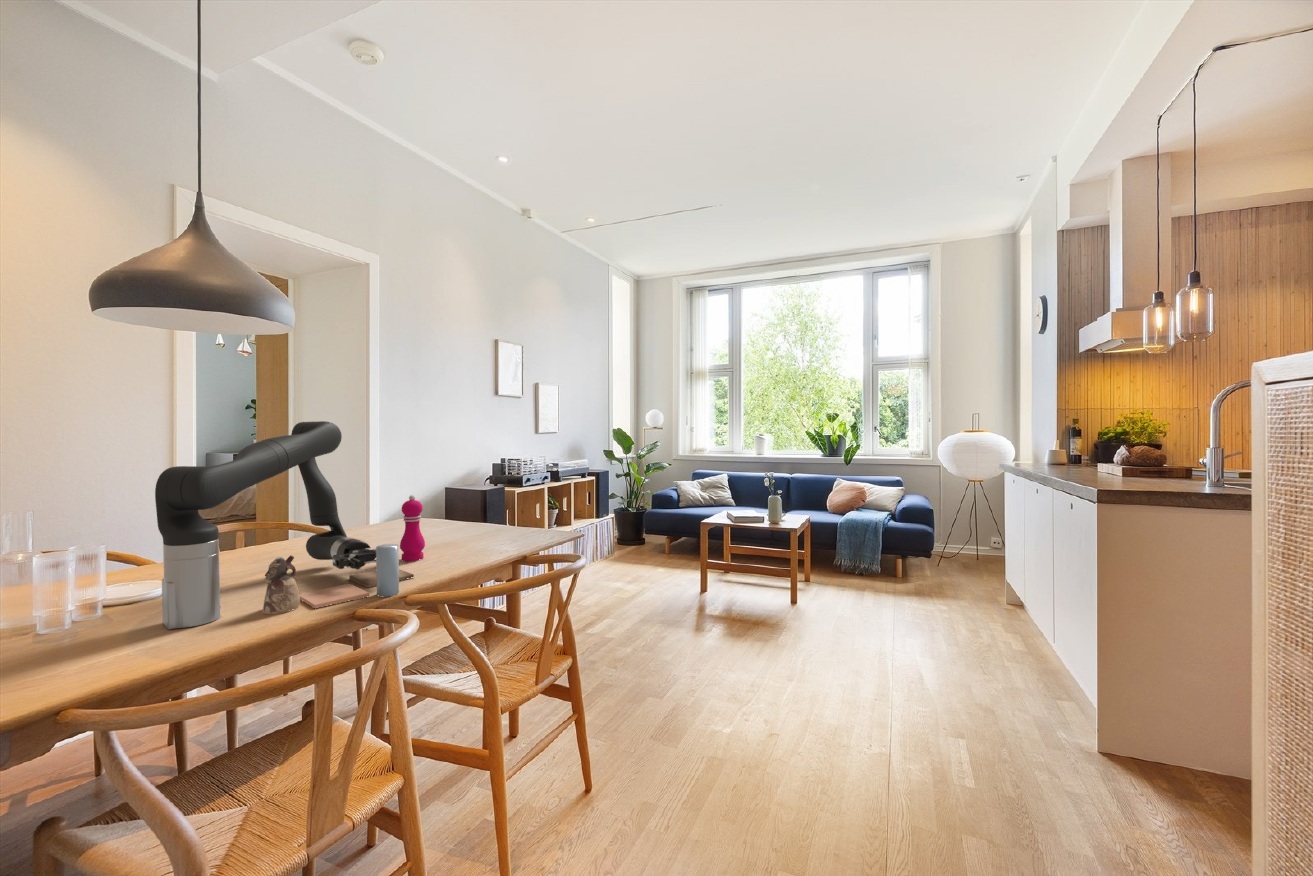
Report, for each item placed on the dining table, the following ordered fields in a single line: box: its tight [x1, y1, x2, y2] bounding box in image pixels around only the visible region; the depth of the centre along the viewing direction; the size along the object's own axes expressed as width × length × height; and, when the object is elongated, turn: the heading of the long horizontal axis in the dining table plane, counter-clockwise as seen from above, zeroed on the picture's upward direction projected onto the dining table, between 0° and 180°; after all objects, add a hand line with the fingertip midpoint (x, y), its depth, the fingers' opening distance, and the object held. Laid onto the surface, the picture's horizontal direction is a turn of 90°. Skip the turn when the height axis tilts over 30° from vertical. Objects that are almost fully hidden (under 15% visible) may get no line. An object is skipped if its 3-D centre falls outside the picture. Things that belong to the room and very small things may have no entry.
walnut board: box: [349, 568, 415, 588], centre depth 155 cm, size 12×12×1 cm
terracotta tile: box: [299, 583, 371, 610], centre depth 139 cm, size 12×12×1 cm
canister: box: [375, 543, 400, 598], centre depth 141 cm, size 5×5×12 cm
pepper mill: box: [399, 494, 426, 562], centre depth 177 cm, size 7×7×20 cm
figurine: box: [262, 554, 301, 615], centre depth 130 cm, size 7×7×12 cm
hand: (376, 562), depth 145 cm, fingers open, 8 cm apart
